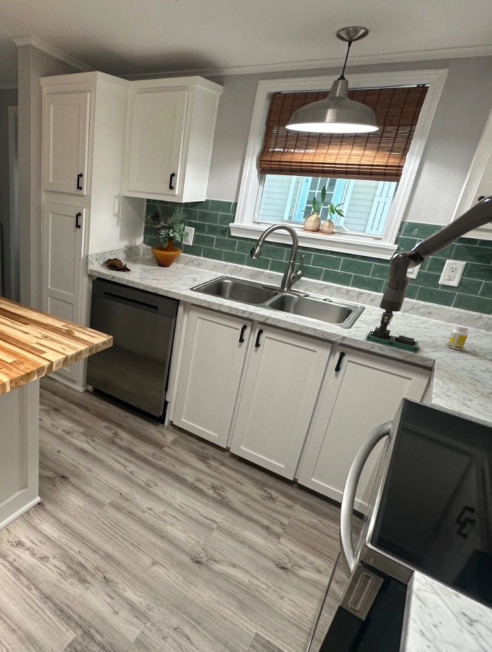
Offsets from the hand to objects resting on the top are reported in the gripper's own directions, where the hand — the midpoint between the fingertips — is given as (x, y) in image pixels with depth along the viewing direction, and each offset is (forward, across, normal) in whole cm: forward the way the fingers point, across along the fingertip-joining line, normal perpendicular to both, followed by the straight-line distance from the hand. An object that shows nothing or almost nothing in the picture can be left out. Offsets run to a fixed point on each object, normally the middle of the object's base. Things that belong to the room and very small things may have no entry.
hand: (380, 335), depth 179 cm
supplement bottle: (+3, +18, -26) cm, 32 cm away
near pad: (+2, 0, -9) cm, 9 cm away
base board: (+3, 0, -4) cm, 5 cm away
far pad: (+1, 0, 0) cm, 1 cm away
